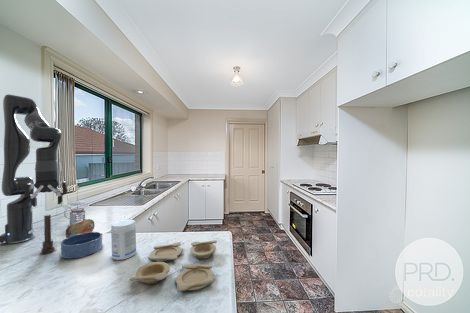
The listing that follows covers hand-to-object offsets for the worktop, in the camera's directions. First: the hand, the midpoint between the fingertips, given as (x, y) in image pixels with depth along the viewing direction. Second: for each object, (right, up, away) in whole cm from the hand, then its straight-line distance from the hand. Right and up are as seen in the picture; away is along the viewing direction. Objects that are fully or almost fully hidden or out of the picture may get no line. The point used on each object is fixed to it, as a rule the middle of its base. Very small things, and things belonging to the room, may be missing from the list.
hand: (47, 205), depth 93 cm
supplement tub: (+37, -22, -3) cm, 43 cm away
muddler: (0, -22, 0) cm, 22 cm away
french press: (-15, -22, +35) cm, 44 cm away
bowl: (+16, -22, +1) cm, 27 cm away
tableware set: (+64, -22, -12) cm, 69 cm away
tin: (+2, -22, +17) cm, 28 cm away
